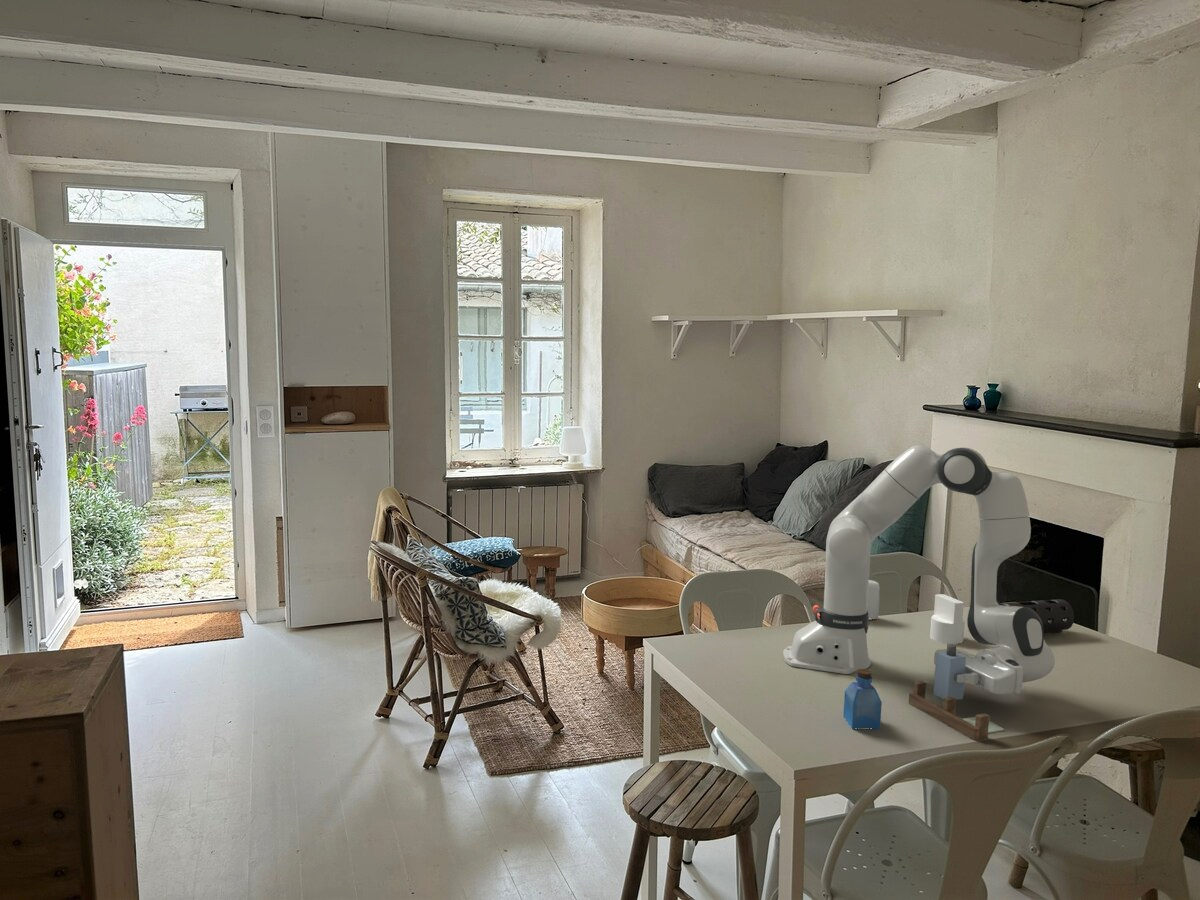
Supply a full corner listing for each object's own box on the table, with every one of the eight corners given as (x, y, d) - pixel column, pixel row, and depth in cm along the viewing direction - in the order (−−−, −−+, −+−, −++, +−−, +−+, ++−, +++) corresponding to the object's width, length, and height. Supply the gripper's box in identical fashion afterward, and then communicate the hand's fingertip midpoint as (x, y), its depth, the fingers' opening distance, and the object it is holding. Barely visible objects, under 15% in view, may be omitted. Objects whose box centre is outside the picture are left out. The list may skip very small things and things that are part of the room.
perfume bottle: (870, 717, 199) (873, 666, 198) (880, 729, 193) (883, 676, 192) (843, 717, 199) (846, 666, 198) (852, 729, 193) (855, 676, 192)
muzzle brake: (1073, 637, 259) (1076, 603, 258) (991, 643, 252) (993, 608, 251) (1049, 627, 268) (1052, 594, 267) (969, 632, 261) (972, 598, 260)
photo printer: (847, 621, 269) (850, 581, 268) (842, 617, 274) (844, 578, 272) (880, 621, 271) (882, 581, 269) (874, 616, 275) (877, 578, 273)
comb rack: (974, 740, 189) (975, 718, 188) (908, 703, 208) (909, 682, 207) (1010, 733, 192) (1012, 711, 192) (943, 697, 211) (944, 677, 211)
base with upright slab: (923, 635, 258) (925, 595, 256) (949, 633, 261) (951, 593, 259) (943, 645, 249) (946, 604, 248) (970, 642, 252) (973, 602, 251)
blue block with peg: (947, 701, 202) (951, 650, 201) (933, 693, 206) (936, 644, 205) (962, 698, 204) (966, 648, 202) (948, 691, 208) (952, 642, 206)
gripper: (961, 640, 218) (916, 645, 213) (1028, 669, 199) (980, 676, 194) (960, 664, 219) (914, 670, 214) (1026, 696, 200) (978, 703, 195)
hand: (946, 673), depth 204 cm, fingers closed on blue block with peg, 4 cm apart
